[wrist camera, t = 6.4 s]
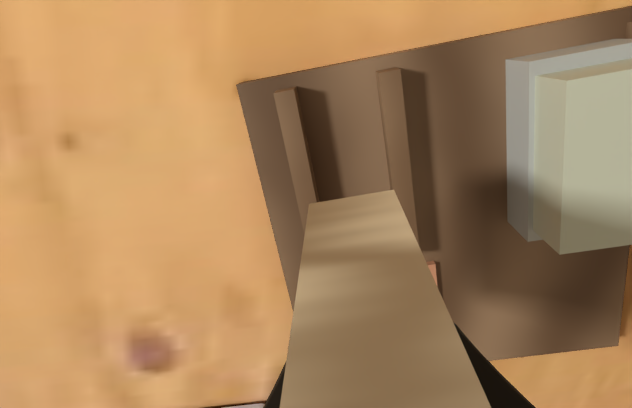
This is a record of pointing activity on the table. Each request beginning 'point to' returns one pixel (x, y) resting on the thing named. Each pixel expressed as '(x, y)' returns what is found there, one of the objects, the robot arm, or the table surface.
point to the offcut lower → (523, 117)
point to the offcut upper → (584, 157)
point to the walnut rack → (439, 180)
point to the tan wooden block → (372, 316)
